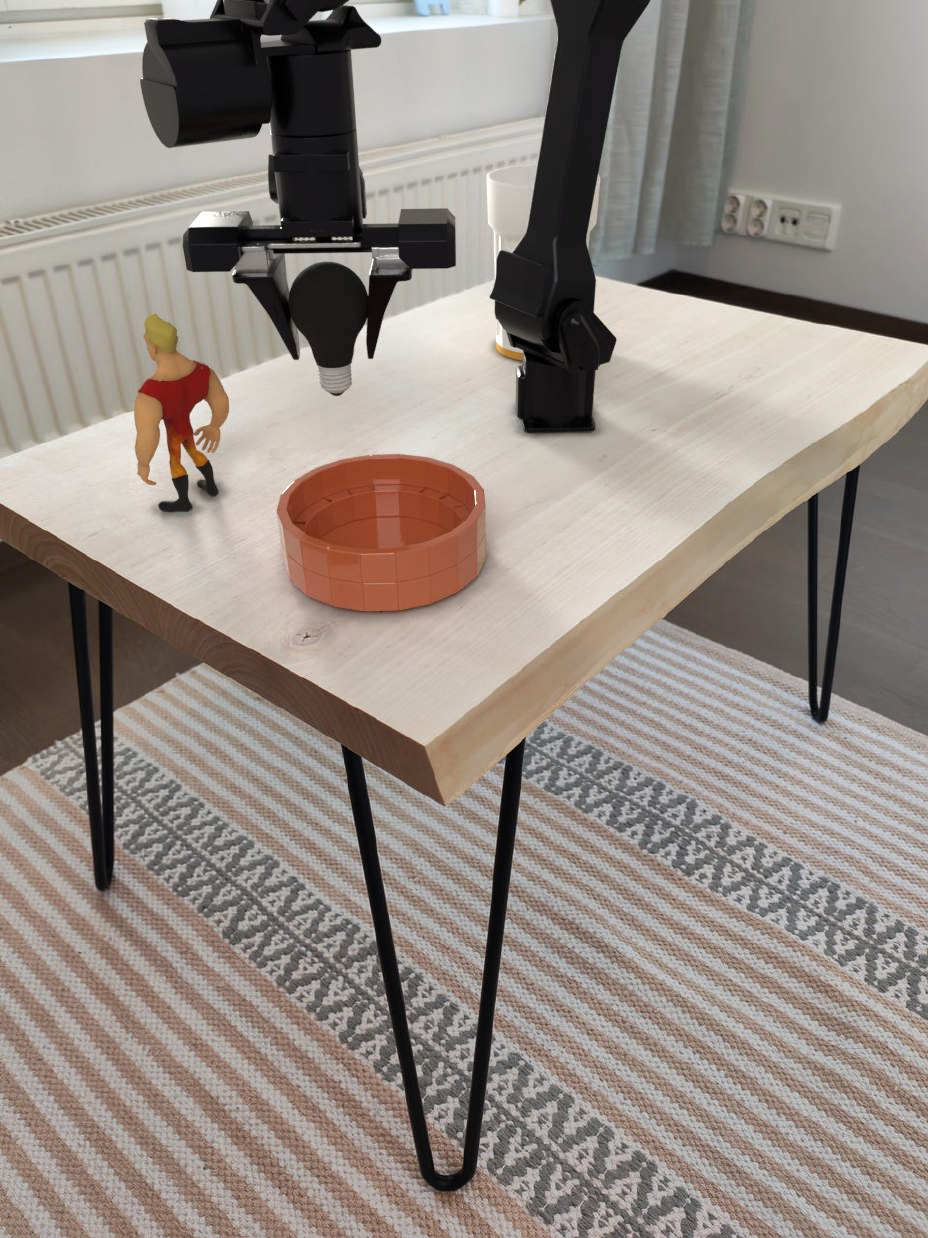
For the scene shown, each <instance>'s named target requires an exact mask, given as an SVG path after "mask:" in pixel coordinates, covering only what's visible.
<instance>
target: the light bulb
mask: <svg viewBox="0 0 928 1238" xmlns="http://www.w3.org/2000/svg"><path fill="white" fill-rule="evenodd" d="M289 292H290V293H289V299H288V302H289V311H290V315H291V318H292V320H293V322H294V324H295V326H296V327H297V330H298V331H299V332H300V333H301V334H302V336H304V338H305V339H306V341H307V343H308V344H309V347H310V350H311V353H312V357H313V359H314V361H315V364H316V366H317V368H318V376H319V385H320V388H321V389H322V390H324V391H325V392H327V393H329V394H330V395H332V396H333V397H340V396H342V395H343V394H344V393H345V392H346V391H348V390H349V389H350V388H351V386H352V385H353V382H352V380H353V378H352V363H353V359H354V355H355V346H356V342H357V339H358V336H359V333H361V331H362V330H363V328H364V326H365V324H367V313H368V291H367V288H366V286H365V284H364V282H363V281H362V279H361V278H360V276H359V275H358V274H357V273H356V272H355V271H354V270H352V269H351V268H349V267H348V266H346V265H345V264H342V263H340V262H335V261H319V262H315V263H313V264H311V265H309V266H307V267H305V268H304V269H302V270H301V271H300V272H299V273H298V274H297V276H296V277H295V278H294V280H293V281H292V284H291V287H290V289H289Z"/></svg>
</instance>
